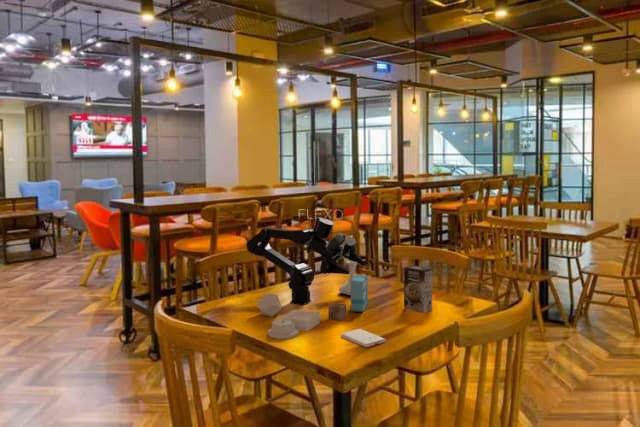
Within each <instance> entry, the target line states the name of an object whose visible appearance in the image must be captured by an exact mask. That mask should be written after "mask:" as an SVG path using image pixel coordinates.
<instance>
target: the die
mask: <svg viewBox="0 0 640 427" xmlns="http://www.w3.org/2000/svg"><path fill="white" fill-rule="evenodd" d="M256 303H257V306H258V308H259V311H260V314H261V315H262V316H266V317H270V318H272V317H274V316H275V315H277V313H278V312H280V310H282V309H283V305H282V303H281V301H280V298H279V297H278V294H275V293H269V292H266V293H265V294H263V296H262V297H260V298H259V300H258V301H256Z"/></svg>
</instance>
